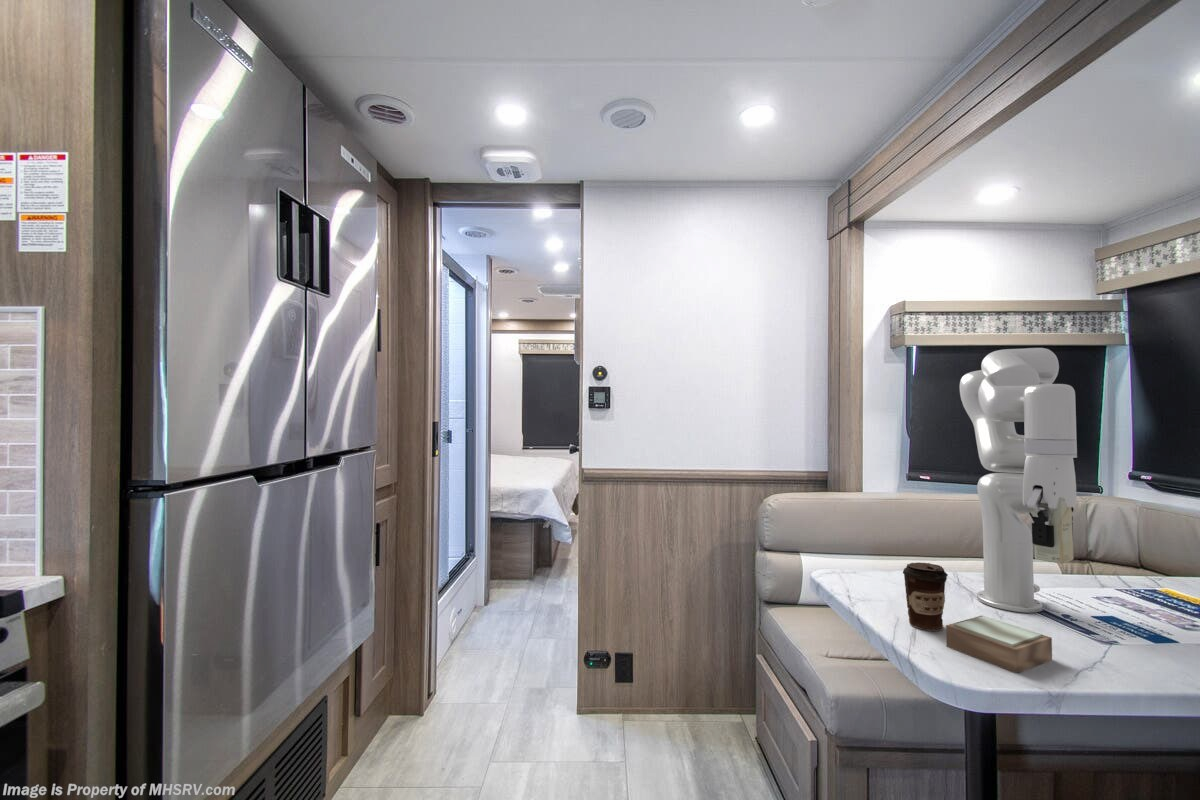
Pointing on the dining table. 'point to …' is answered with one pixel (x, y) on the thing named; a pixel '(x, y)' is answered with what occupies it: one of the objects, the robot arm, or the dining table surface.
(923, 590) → the coffee cup
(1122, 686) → the dining table surface
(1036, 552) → the skincare box
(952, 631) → the walnut plinth
